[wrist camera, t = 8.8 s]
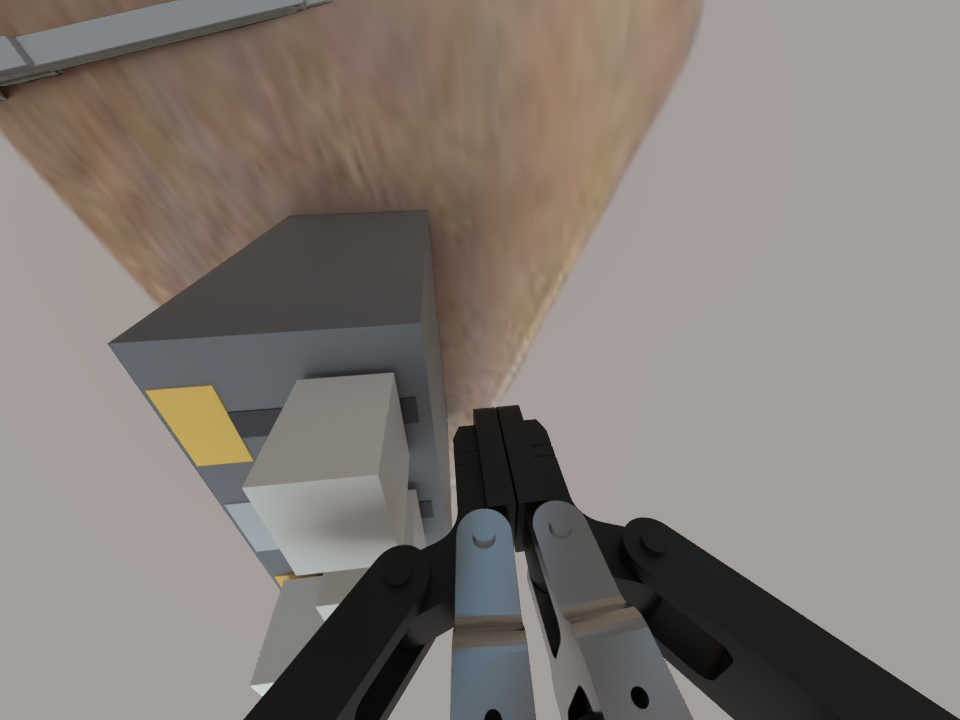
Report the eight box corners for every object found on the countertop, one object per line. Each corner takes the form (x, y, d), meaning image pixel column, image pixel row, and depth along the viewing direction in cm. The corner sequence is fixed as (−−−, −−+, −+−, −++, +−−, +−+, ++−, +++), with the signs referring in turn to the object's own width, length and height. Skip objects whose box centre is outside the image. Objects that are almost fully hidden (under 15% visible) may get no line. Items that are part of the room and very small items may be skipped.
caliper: (-27, 112, 19) (-192, 112, 14) (-48, 87, 19) (-230, 77, 14) (334, 3, 19) (296, -40, 13) (324, -27, 18) (280, -84, 13)
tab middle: (361, 549, 17) (344, 653, 14) (341, 496, 15) (315, 606, 11) (425, 541, 17) (423, 642, 14) (415, 489, 15) (410, 594, 12)
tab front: (329, 464, 14) (296, 575, 10) (297, 380, 11) (241, 487, 8) (409, 456, 14) (402, 563, 11) (393, 372, 12) (377, 474, 8)
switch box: (352, 426, 34) (301, 621, 21) (289, 216, 24) (105, 345, 10) (447, 418, 35) (455, 602, 22) (427, 210, 24) (420, 324, 11)
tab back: (307, 615, 20) (282, 713, 17) (283, 580, 18) (249, 686, 15) (362, 608, 20) (348, 703, 17) (346, 572, 18) (326, 675, 15)
